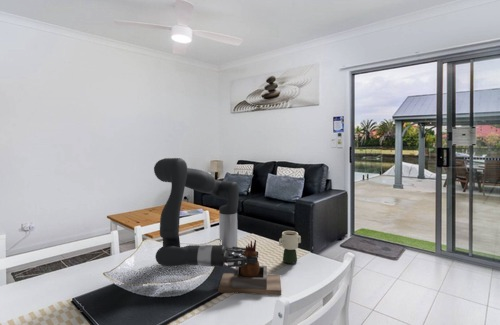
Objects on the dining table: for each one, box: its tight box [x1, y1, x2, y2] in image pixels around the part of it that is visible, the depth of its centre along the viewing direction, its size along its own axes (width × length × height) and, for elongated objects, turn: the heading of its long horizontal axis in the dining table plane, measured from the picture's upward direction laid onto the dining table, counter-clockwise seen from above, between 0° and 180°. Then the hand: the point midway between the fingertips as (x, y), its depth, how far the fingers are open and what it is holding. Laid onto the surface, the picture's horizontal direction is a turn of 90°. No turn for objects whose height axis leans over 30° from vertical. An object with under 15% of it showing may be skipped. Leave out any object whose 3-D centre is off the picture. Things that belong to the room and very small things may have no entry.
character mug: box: [278, 230, 302, 265], centre depth 126 cm, size 11×7×13 cm, turn 113°
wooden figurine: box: [241, 239, 261, 278], centre depth 105 cm, size 7×6×15 cm
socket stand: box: [217, 265, 282, 296], centre depth 105 cm, size 12×22×5 cm, turn 86°
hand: (257, 257), depth 104 cm, fingers closed on wooden figurine, 4 cm apart
